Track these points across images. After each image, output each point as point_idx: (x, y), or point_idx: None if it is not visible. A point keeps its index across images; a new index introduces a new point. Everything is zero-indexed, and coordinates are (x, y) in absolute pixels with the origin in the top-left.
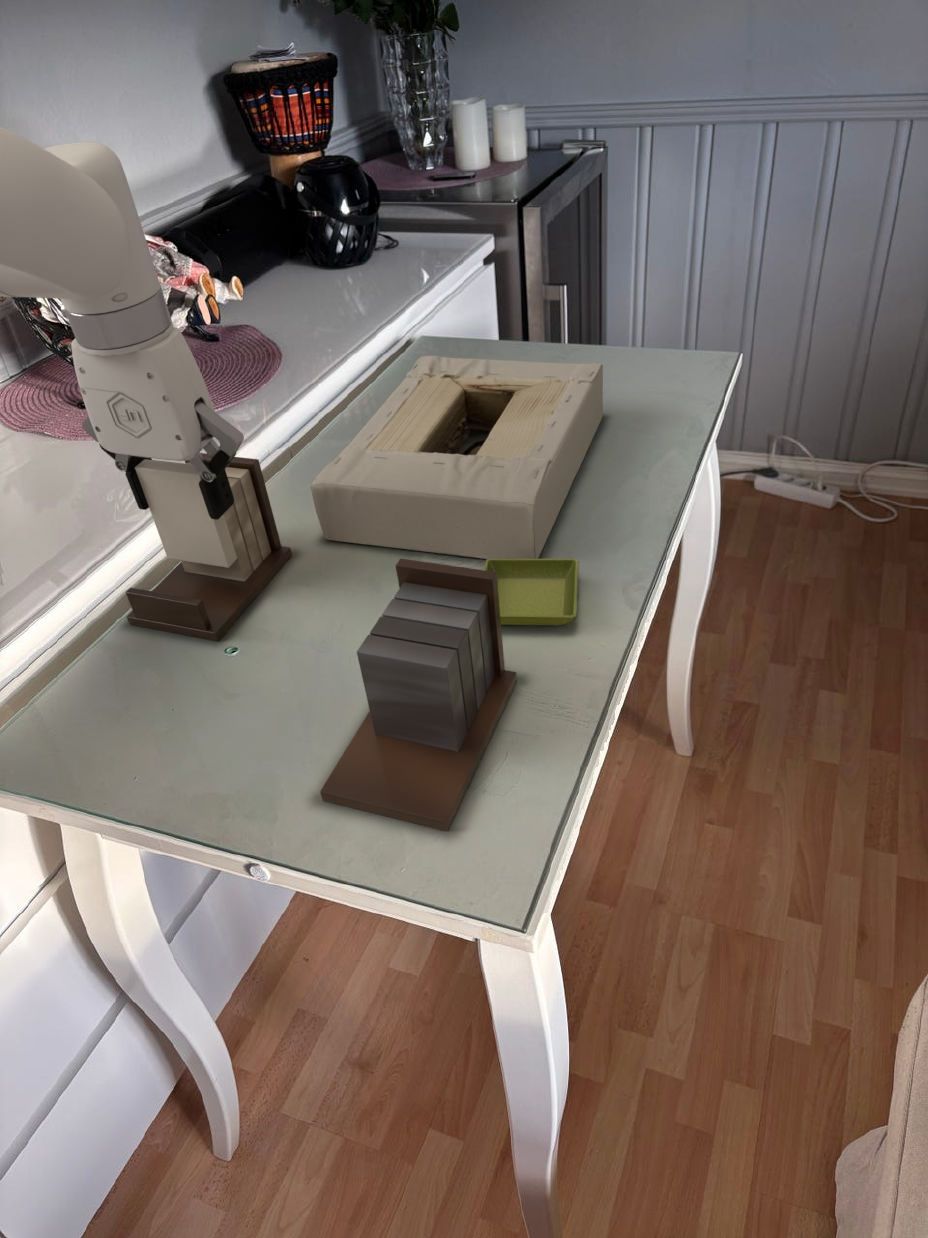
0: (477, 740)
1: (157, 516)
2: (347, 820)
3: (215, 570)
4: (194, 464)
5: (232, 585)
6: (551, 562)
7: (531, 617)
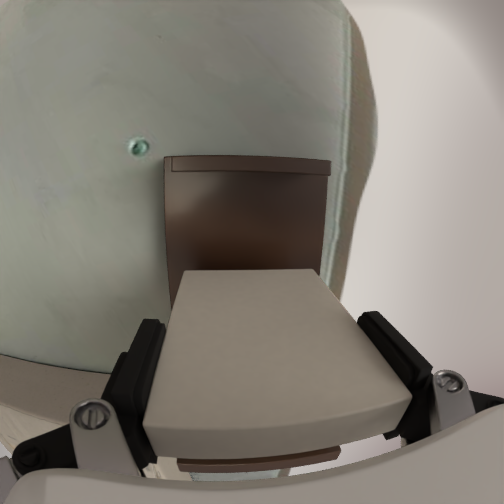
0: None
1: (333, 312)
2: None
3: None
4: (118, 457)
5: (204, 265)
6: None
7: None
